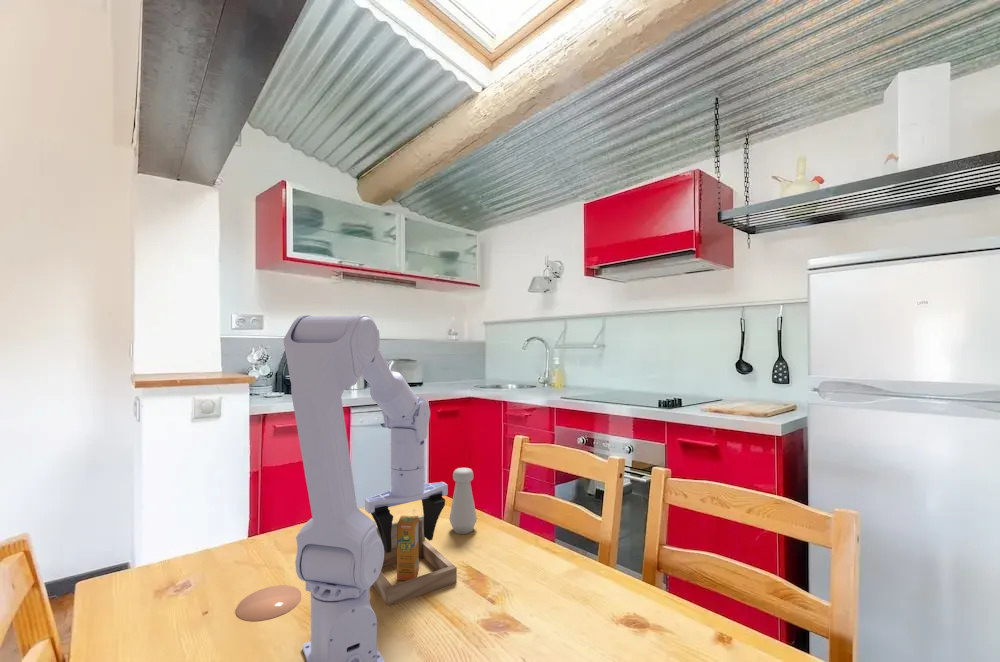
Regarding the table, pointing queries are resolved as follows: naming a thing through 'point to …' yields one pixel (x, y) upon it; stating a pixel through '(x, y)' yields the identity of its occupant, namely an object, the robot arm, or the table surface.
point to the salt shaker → (463, 502)
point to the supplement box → (407, 547)
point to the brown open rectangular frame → (420, 584)
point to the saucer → (268, 603)
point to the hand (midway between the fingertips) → (408, 544)
